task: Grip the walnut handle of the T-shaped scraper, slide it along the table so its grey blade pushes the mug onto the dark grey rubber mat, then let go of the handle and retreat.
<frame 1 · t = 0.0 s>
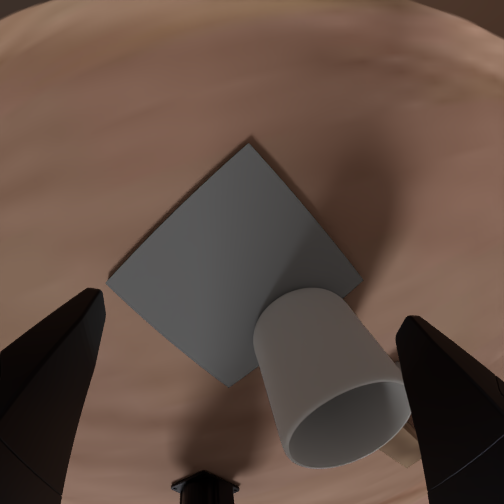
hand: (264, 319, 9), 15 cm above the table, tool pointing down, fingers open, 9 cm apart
mug: (302, 347, 27), on the table, touching mat
mat: (236, 280, 25), on the table
scraper: (387, 422, 33), on the table
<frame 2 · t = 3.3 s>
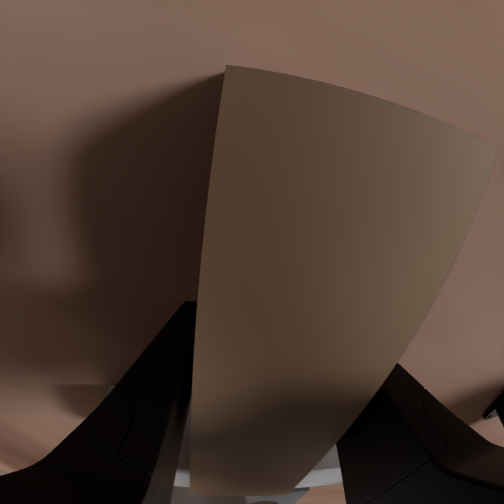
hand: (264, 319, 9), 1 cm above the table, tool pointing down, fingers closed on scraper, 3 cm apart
mug: (216, 483, 19), on the table, touching mat
scraper: (260, 291, 10), on the table, touching gripper
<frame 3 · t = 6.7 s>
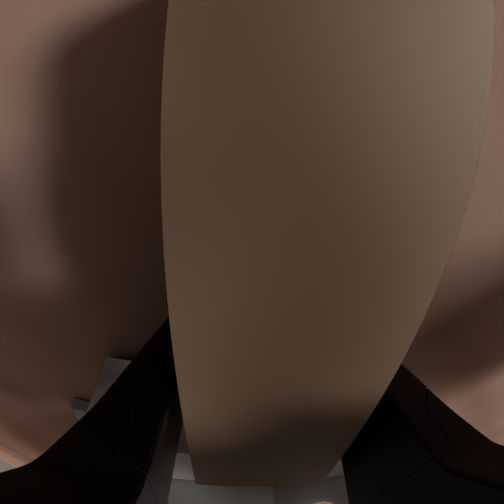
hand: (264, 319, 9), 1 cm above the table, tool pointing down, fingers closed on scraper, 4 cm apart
mug: (227, 438, 14), resting on mat, touching scraper
scraper: (274, 210, 8), on the table, touching gripper, mug
when the fingers open (1 cm above the table, at t = 8.1 s): scraper stays where it is, on the table.
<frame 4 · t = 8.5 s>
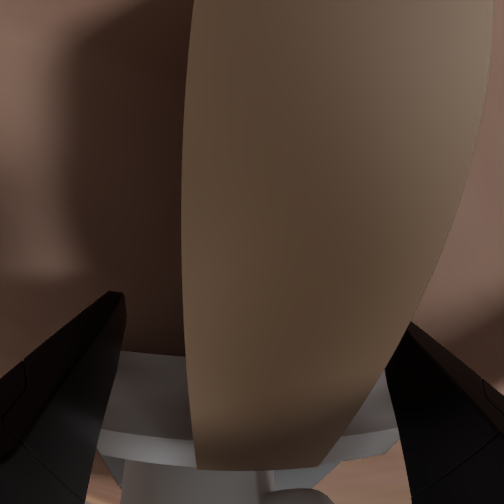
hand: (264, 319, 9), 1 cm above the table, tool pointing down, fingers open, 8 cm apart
mug: (223, 457, 15), resting on mat
mat: (215, 479, 19), on the table
scraper: (272, 203, 8), on the table
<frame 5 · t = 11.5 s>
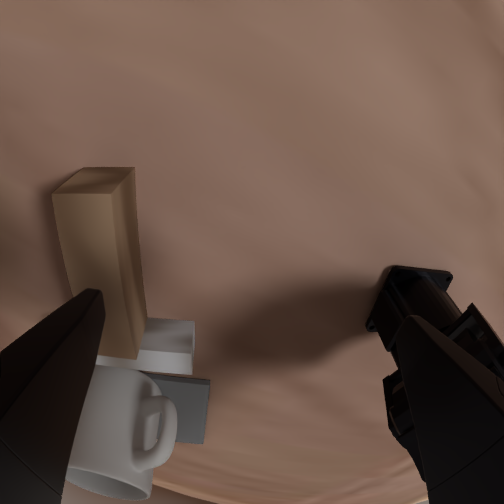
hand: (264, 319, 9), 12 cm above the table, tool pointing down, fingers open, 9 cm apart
mug: (133, 382, 28), resting on mat
mat: (139, 407, 31), on the table
scraper: (116, 250, 21), on the table
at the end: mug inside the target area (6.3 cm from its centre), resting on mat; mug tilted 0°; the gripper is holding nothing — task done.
